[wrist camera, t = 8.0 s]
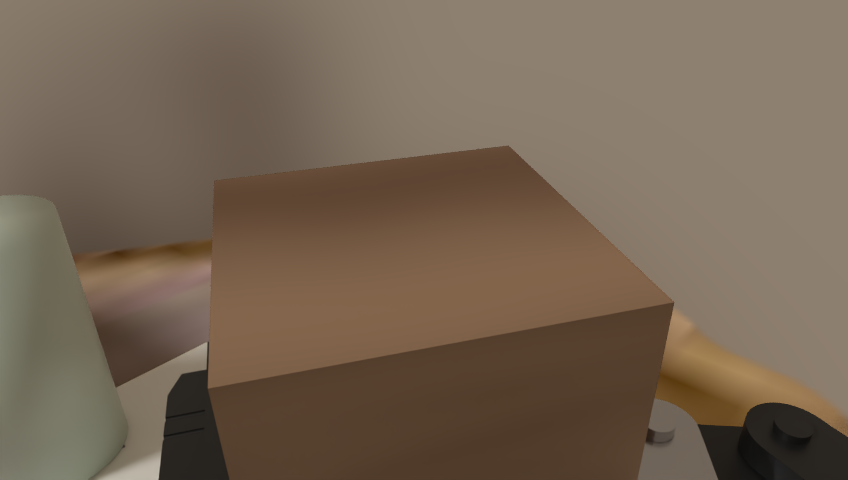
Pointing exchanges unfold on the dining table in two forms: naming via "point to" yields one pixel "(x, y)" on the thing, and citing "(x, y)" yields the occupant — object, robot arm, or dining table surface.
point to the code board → (148, 417)
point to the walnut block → (426, 327)
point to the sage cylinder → (50, 355)
